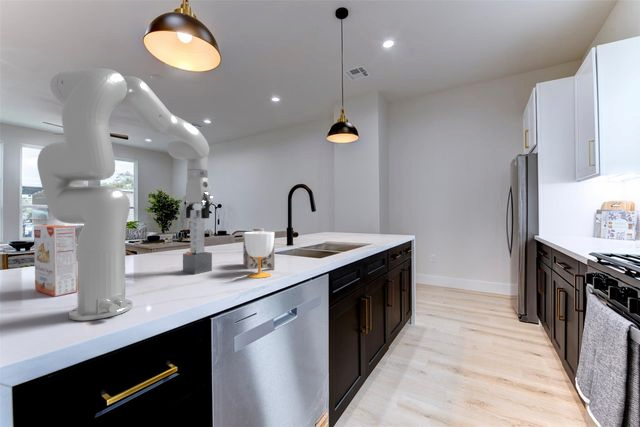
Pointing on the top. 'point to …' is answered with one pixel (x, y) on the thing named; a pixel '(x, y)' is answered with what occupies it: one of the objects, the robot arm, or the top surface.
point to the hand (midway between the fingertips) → (197, 218)
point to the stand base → (197, 263)
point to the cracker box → (55, 259)
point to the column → (197, 232)
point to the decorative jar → (252, 262)
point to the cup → (259, 248)
